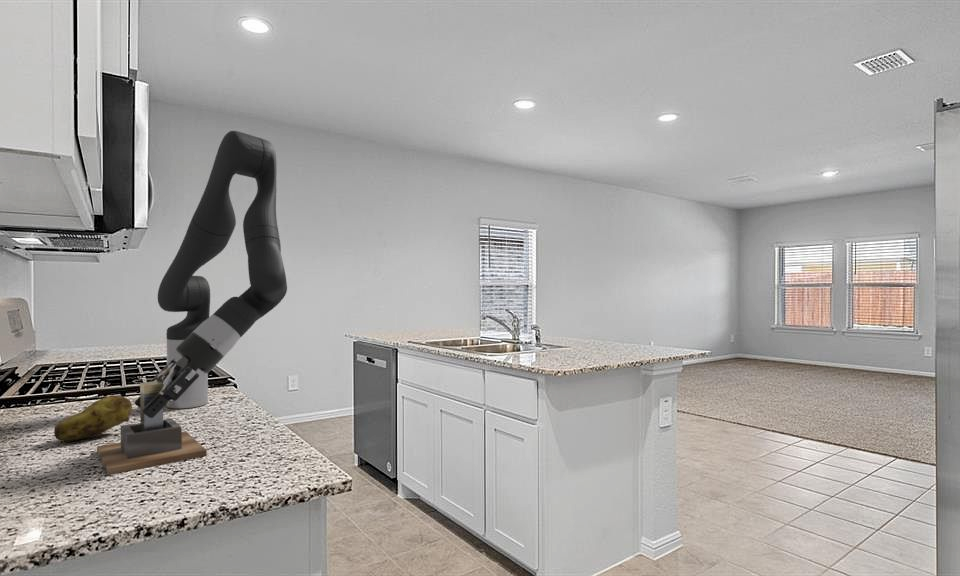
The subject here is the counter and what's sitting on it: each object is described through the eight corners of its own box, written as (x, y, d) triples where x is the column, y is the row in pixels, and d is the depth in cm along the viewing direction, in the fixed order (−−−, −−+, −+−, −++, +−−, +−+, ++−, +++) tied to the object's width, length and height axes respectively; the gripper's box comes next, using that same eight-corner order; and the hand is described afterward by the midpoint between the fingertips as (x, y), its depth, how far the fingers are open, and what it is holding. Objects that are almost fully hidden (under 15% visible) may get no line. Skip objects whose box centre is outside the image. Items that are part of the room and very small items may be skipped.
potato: (57, 437, 111) (57, 398, 111) (132, 427, 118) (131, 391, 118) (52, 447, 104) (52, 406, 104) (132, 437, 111) (131, 398, 111)
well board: (97, 451, 101) (96, 424, 101) (186, 436, 111) (185, 412, 111) (107, 474, 89) (107, 444, 89) (206, 455, 99) (206, 428, 99)
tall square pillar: (140, 447, 100) (140, 382, 100) (159, 444, 102) (158, 381, 102) (144, 451, 98) (144, 385, 98) (163, 448, 100) (162, 383, 100)
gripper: (185, 328, 110) (119, 392, 103) (203, 333, 99) (130, 405, 92) (214, 352, 113) (151, 415, 106) (234, 359, 103) (166, 430, 95)
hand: (142, 410), depth 99 cm, fingers open, 8 cm apart
